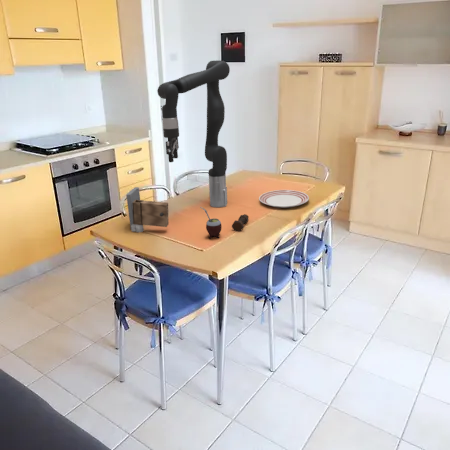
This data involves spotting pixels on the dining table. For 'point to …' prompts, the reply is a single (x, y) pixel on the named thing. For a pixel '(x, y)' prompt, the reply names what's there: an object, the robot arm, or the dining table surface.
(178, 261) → the dining table surface
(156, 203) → the door
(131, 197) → the cabinet side
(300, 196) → the dinner plate
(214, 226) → the mate gourd
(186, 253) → the dining table surface
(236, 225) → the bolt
